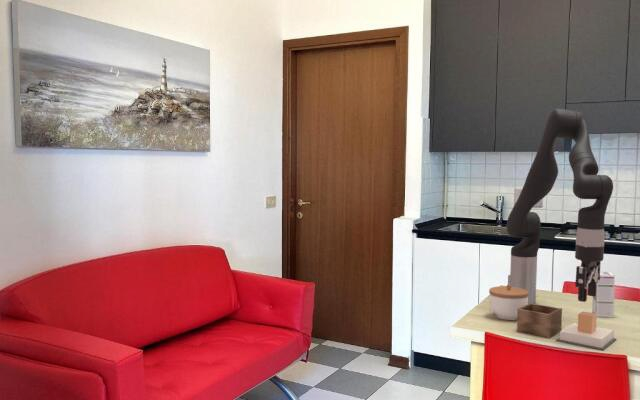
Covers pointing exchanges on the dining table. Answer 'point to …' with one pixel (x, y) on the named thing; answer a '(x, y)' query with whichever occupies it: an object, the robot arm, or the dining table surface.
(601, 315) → the syrup box
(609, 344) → the mat
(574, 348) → the dining table surface
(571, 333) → the lid
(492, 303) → the lidded bowl
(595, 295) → the robot arm
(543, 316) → the storage box
